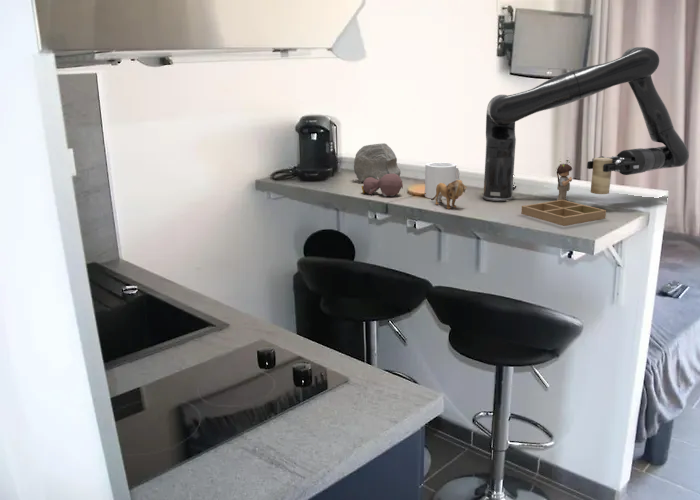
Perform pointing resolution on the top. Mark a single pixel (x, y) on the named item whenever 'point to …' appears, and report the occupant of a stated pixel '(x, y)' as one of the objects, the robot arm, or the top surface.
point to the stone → (375, 162)
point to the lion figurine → (449, 192)
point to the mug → (439, 176)
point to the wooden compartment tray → (563, 212)
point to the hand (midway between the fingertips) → (596, 166)
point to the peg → (600, 176)
